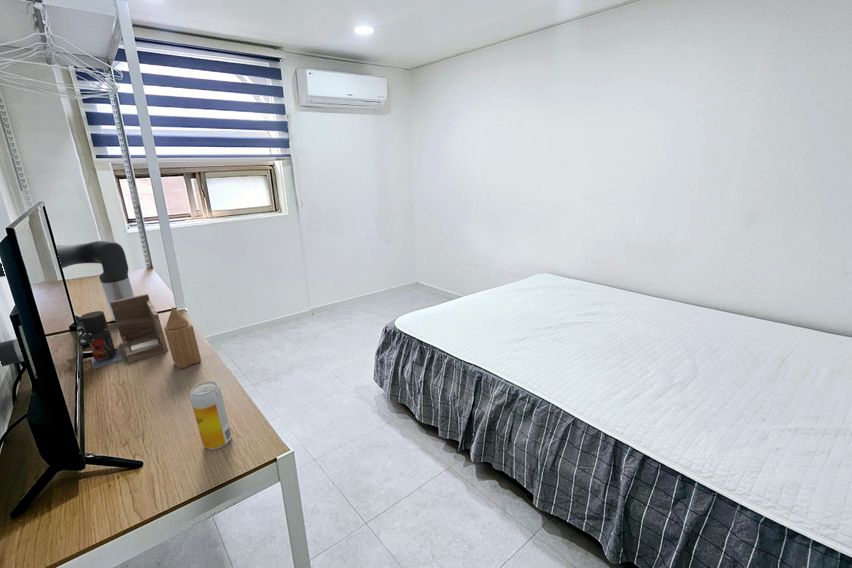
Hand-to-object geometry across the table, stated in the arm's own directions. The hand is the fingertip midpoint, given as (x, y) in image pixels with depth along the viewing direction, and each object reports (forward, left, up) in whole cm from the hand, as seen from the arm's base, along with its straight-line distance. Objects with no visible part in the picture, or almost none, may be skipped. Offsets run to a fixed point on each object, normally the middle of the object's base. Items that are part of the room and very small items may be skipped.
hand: (106, 329), depth 131 cm
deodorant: (0, -3, -9) cm, 10 cm away
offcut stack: (+3, +9, -11) cm, 14 cm away
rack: (-3, +9, -11) cm, 14 cm away
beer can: (+70, +15, -11) cm, 72 cm away
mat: (0, -2, -11) cm, 11 cm away
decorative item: (+22, +18, -11) cm, 30 cm away
